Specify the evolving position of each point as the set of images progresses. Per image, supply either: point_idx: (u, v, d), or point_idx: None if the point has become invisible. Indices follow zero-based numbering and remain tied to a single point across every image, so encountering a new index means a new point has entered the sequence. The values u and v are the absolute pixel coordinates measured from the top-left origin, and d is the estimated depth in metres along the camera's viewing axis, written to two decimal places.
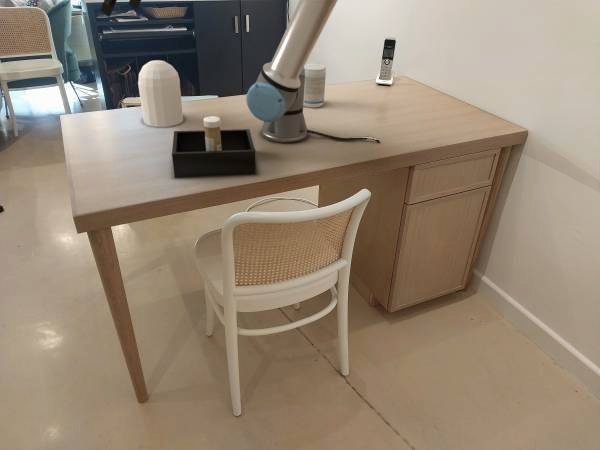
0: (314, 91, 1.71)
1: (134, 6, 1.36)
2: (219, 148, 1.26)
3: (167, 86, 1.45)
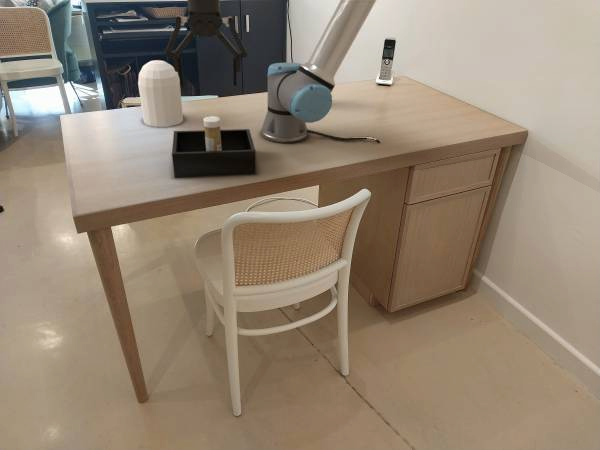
0: None
1: (183, 81, 1.17)
2: (219, 148, 1.26)
3: (167, 86, 1.45)
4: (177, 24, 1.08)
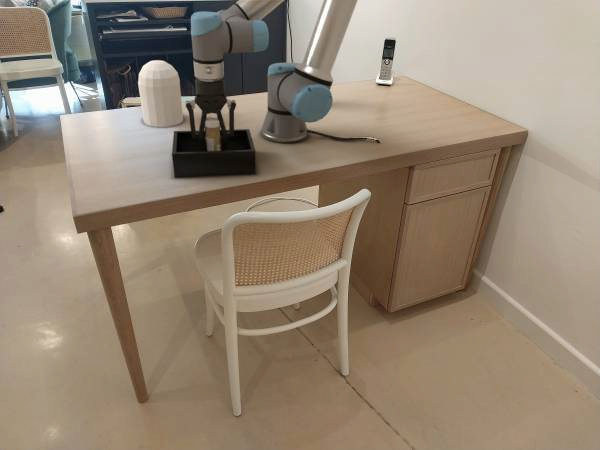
0: None
1: None
2: (219, 148, 1.26)
3: (167, 86, 1.45)
4: (189, 110, 1.19)
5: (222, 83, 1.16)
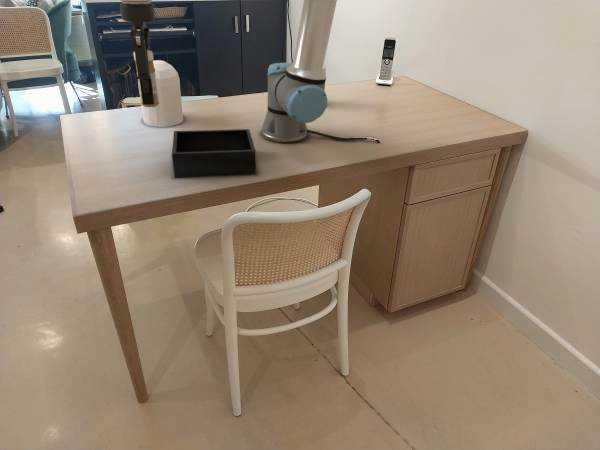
0: None
1: None
2: None
3: (167, 86, 1.45)
4: (144, 44, 1.04)
5: None
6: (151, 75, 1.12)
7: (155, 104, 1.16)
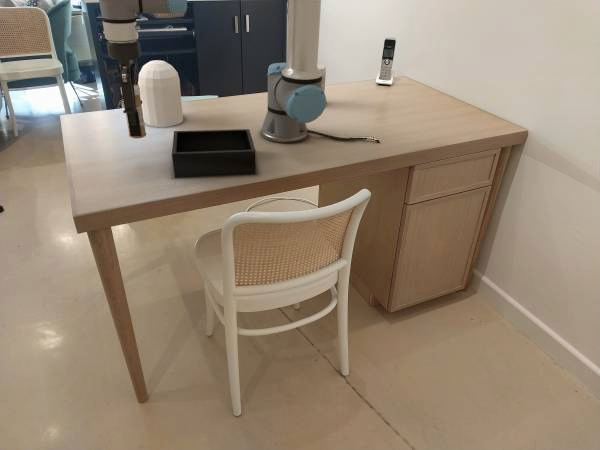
0: None
1: None
2: None
3: (167, 86, 1.45)
4: (130, 81, 1.08)
5: None
6: (138, 108, 1.16)
7: (142, 135, 1.20)
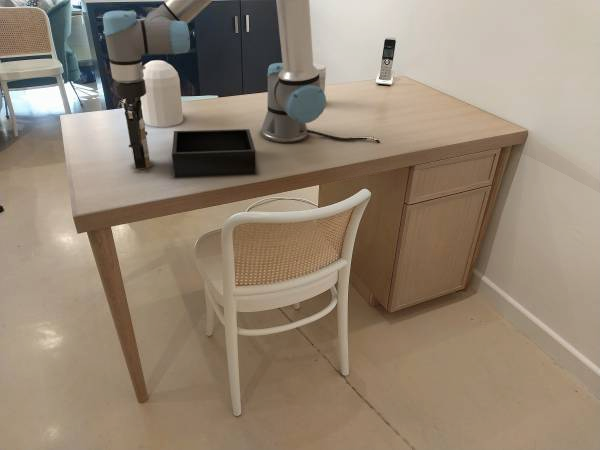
0: None
1: None
2: None
3: (167, 86, 1.45)
4: (136, 117, 1.13)
5: None
6: (143, 141, 1.21)
7: (147, 166, 1.25)
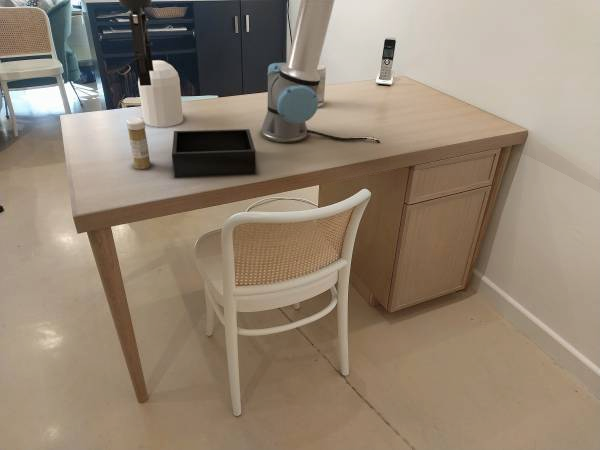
0: None
1: None
2: None
3: (167, 86, 1.45)
4: (141, 22, 1.07)
5: None
6: (143, 141, 1.21)
7: (147, 166, 1.25)
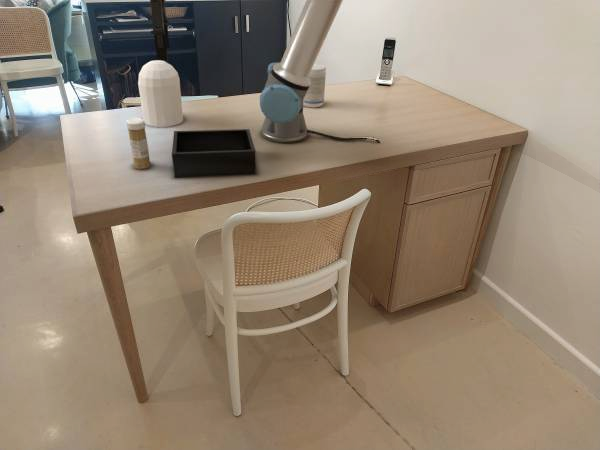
0: (314, 91, 1.71)
1: None
2: None
3: (167, 86, 1.45)
4: None
5: None
6: (143, 141, 1.21)
7: (147, 166, 1.25)
